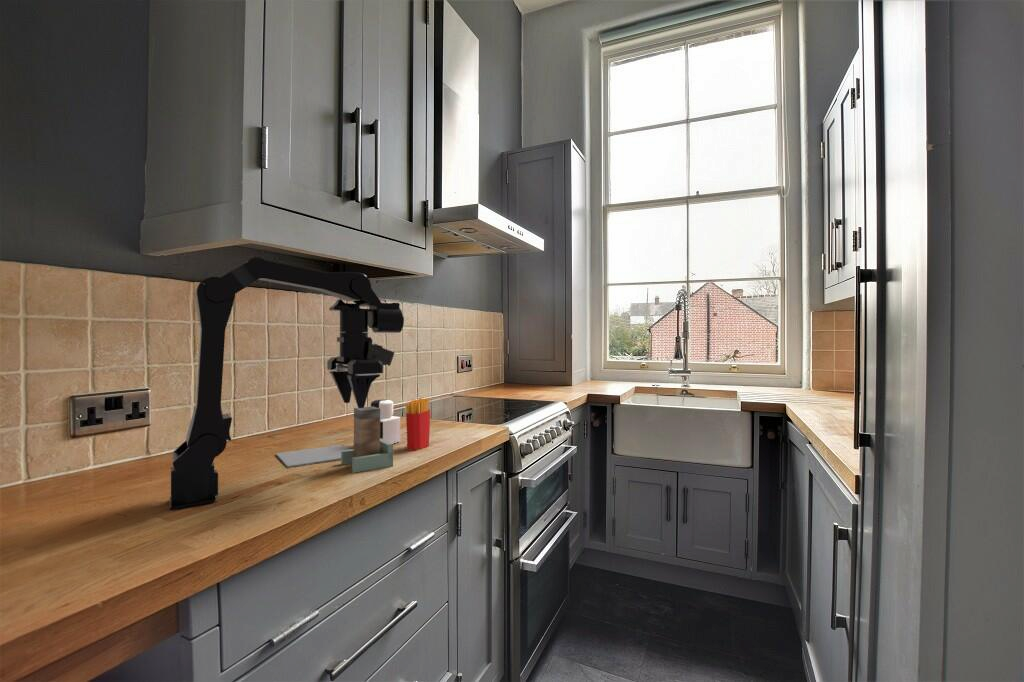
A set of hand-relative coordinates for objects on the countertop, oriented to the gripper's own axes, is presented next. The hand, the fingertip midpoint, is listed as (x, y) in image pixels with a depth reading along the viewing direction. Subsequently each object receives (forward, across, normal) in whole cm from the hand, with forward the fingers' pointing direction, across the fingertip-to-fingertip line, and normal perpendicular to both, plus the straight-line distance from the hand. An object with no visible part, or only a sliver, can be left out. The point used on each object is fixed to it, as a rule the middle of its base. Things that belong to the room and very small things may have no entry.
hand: (353, 405), depth 98 cm
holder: (+15, +5, -5) cm, 16 cm away
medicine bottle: (+15, +24, -16) cm, 32 cm away
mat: (+15, +20, +2) cm, 25 cm away
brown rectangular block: (+15, +5, -5) cm, 16 cm away
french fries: (+15, +14, -22) cm, 30 cm away
